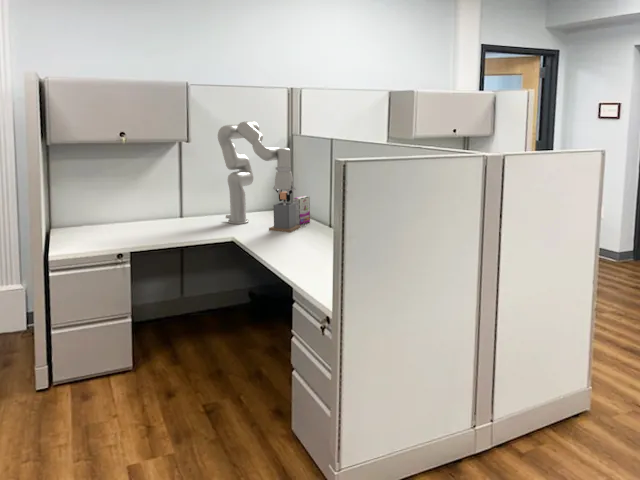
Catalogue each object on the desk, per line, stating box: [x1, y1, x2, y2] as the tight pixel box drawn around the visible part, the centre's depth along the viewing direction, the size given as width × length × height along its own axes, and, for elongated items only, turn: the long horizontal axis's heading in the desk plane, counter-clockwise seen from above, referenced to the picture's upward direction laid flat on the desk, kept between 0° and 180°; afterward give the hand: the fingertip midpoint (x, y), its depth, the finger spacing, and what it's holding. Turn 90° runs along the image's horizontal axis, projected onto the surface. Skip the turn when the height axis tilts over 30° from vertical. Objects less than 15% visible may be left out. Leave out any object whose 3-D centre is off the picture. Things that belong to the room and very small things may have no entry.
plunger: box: [280, 190, 287, 205], centre depth 351 cm, size 7×7×19 cm
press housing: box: [268, 201, 302, 233], centre depth 352 cm, size 14×14×15 cm
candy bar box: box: [292, 195, 311, 226], centre depth 369 cm, size 11×5×16 cm, turn 146°
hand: (284, 200), depth 350 cm, fingers closed on plunger, 4 cm apart
